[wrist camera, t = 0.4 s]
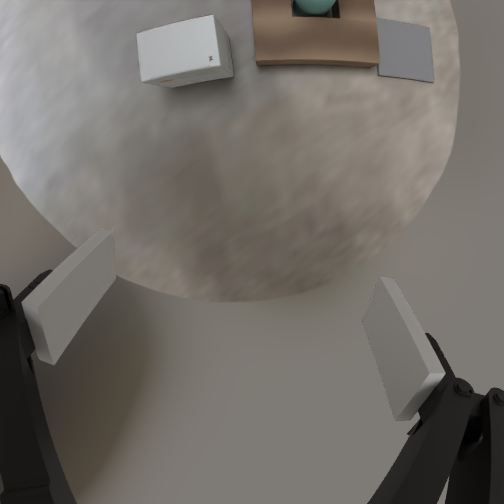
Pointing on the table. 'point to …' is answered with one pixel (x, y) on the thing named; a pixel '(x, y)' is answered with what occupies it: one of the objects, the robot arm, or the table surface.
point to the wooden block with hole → (316, 34)
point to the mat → (405, 50)
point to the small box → (184, 53)
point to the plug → (312, 7)
